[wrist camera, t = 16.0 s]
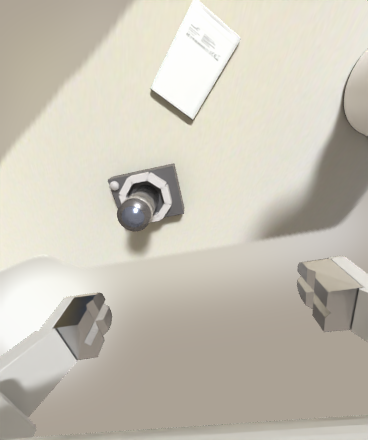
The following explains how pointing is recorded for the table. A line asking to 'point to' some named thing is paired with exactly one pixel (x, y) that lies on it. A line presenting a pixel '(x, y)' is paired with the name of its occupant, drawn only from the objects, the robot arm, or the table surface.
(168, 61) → the external hard drive
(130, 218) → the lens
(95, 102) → the table surface
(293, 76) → the table surface
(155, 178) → the octagonal socket base
